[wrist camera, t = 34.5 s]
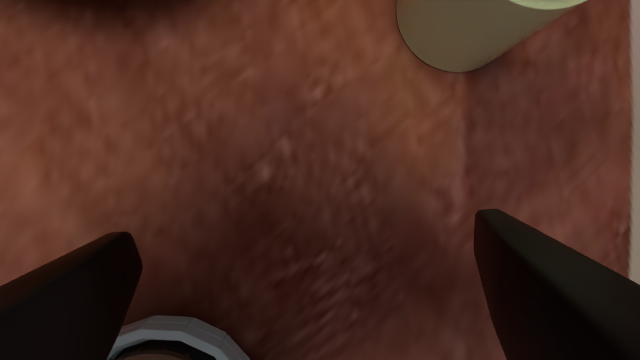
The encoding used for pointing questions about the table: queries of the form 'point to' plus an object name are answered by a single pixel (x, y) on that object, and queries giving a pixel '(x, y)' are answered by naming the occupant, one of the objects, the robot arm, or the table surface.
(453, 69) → the jar
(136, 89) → the table surface
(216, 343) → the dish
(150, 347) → the lid
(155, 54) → the table surface
